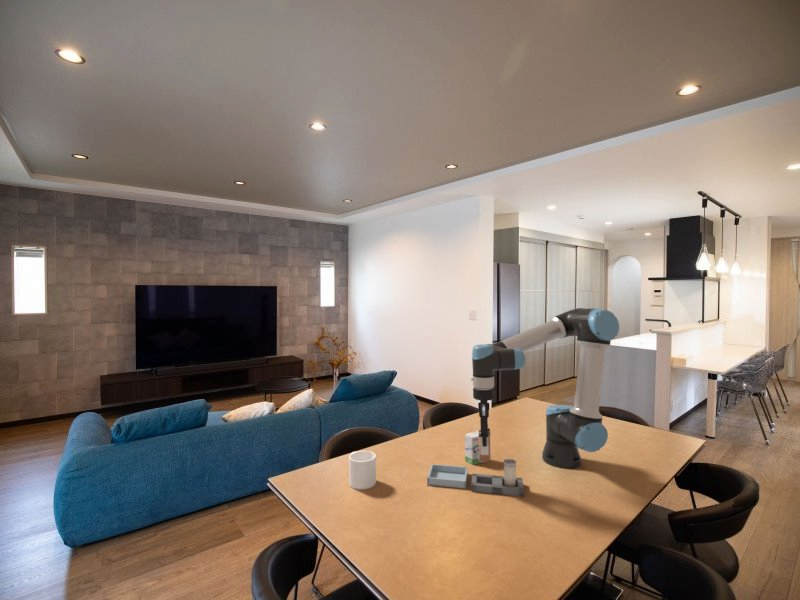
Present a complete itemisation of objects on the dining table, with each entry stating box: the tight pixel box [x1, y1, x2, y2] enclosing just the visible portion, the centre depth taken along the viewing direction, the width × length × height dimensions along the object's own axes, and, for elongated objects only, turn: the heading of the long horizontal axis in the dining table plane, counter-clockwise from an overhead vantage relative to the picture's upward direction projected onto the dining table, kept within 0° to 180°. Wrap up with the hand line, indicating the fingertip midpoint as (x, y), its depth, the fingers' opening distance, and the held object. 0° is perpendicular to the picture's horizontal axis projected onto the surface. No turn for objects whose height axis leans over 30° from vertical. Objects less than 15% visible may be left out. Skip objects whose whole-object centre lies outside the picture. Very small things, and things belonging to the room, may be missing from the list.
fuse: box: [503, 458, 517, 487], centre depth 137 cm, size 4×4×10 cm
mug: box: [348, 450, 377, 491], centre depth 144 cm, size 13×10×10 cm
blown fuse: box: [477, 429, 492, 462], centre depth 139 cm, size 4×4×10 cm
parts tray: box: [426, 463, 469, 490], centre depth 145 cm, size 14×12×3 cm
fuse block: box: [470, 473, 525, 498], centre depth 138 cm, size 18×9×3 cm, turn 77°
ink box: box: [464, 430, 488, 466], centre depth 161 cm, size 8×5×12 cm, turn 120°
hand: (484, 451), depth 139 cm, fingers closed on blown fuse, 4 cm apart
